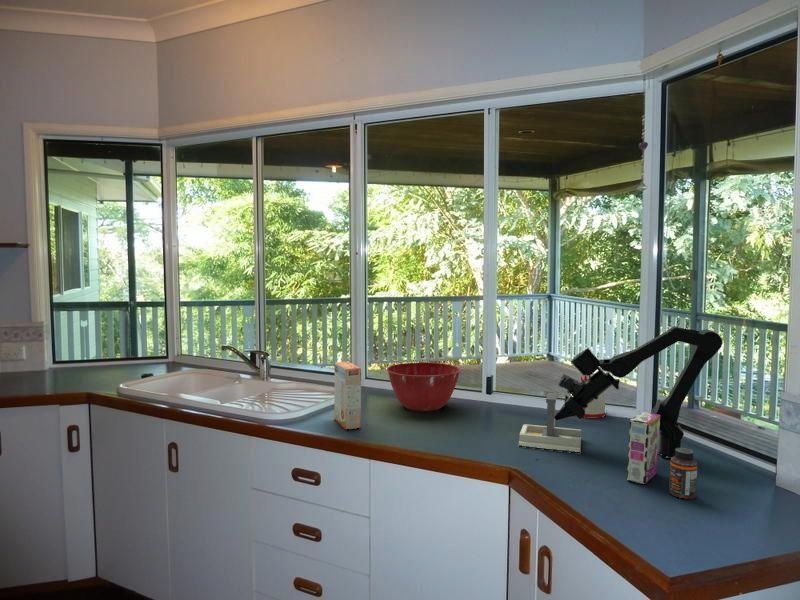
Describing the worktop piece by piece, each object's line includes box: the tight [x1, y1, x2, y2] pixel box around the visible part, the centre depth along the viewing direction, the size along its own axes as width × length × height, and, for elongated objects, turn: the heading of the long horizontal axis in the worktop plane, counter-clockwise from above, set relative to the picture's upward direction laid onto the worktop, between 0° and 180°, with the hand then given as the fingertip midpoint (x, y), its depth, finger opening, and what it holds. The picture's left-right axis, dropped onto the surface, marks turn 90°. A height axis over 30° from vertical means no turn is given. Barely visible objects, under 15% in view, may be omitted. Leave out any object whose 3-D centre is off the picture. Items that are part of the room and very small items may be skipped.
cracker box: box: [333, 361, 362, 430], centre depth 195 cm, size 14×6×21 cm, turn 22°
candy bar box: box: [626, 411, 660, 485], centre depth 148 cm, size 11×5×16 cm, turn 141°
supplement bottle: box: [668, 447, 698, 500], centre depth 137 cm, size 6×6×11 cm
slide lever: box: [542, 392, 560, 437], centre depth 176 cm, size 5×8×13 cm, turn 162°
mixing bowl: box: [386, 361, 461, 413], centre depth 217 cm, size 28×28×16 cm
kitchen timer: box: [576, 375, 606, 417], centre depth 210 cm, size 14×14×15 cm
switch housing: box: [518, 423, 582, 453], centre depth 176 cm, size 18×14×4 cm
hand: (555, 418), depth 175 cm, fingers closed, pressing on slide lever
